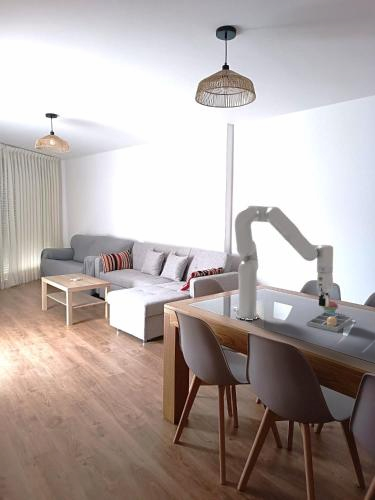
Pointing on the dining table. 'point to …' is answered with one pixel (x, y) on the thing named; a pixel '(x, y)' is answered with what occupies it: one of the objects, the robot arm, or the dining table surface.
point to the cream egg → (326, 301)
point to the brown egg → (332, 321)
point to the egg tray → (322, 318)
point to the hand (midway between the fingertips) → (324, 304)
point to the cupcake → (331, 307)
